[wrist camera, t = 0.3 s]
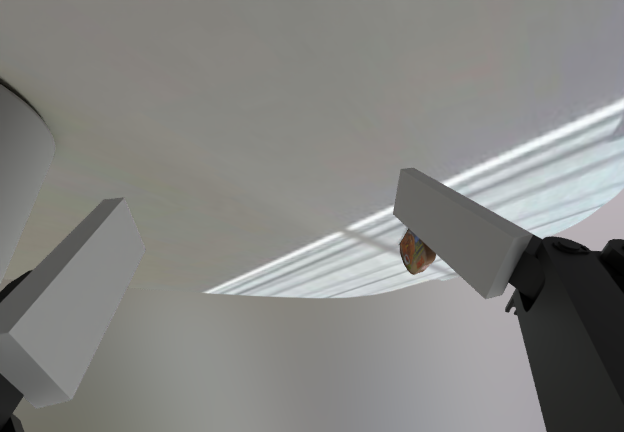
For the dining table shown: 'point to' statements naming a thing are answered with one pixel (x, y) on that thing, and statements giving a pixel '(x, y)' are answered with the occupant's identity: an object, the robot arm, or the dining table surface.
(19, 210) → the cylinder vase
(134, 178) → the dining table surface
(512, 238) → the robot arm
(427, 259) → the tin
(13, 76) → the dining table surface
